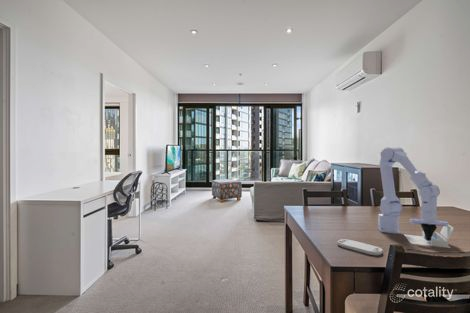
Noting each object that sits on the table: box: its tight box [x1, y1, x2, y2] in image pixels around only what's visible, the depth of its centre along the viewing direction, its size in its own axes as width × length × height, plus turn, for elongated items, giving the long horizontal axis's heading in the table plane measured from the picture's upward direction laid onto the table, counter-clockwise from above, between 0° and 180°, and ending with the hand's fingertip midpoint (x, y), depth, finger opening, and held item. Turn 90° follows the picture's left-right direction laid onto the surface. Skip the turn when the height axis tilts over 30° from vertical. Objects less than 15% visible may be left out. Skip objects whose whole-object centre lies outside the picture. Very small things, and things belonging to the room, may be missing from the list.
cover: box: [439, 224, 455, 241], centre depth 123 cm, size 6×9×1 cm
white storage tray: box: [403, 230, 451, 249], centre depth 127 cm, size 15×14×3 cm
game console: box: [337, 238, 384, 257], centre depth 117 cm, size 18×2×8 cm
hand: (428, 240), depth 126 cm, fingers closed
